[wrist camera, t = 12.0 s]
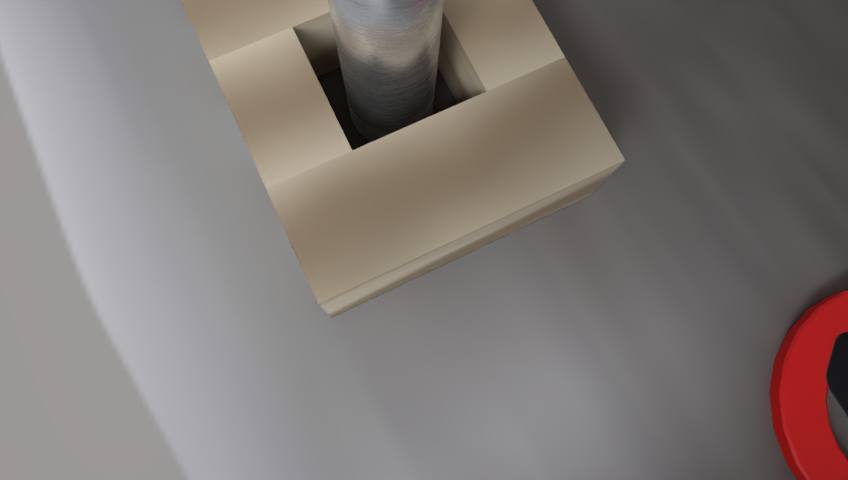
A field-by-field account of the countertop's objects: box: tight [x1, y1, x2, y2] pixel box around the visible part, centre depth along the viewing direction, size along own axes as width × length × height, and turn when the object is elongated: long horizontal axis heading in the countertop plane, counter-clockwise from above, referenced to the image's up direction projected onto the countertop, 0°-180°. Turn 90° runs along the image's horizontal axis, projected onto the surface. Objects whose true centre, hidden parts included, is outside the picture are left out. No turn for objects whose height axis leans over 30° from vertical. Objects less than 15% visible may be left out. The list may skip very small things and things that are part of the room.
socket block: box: [182, 0, 625, 317], centre depth 21 cm, size 12×10×4 cm
